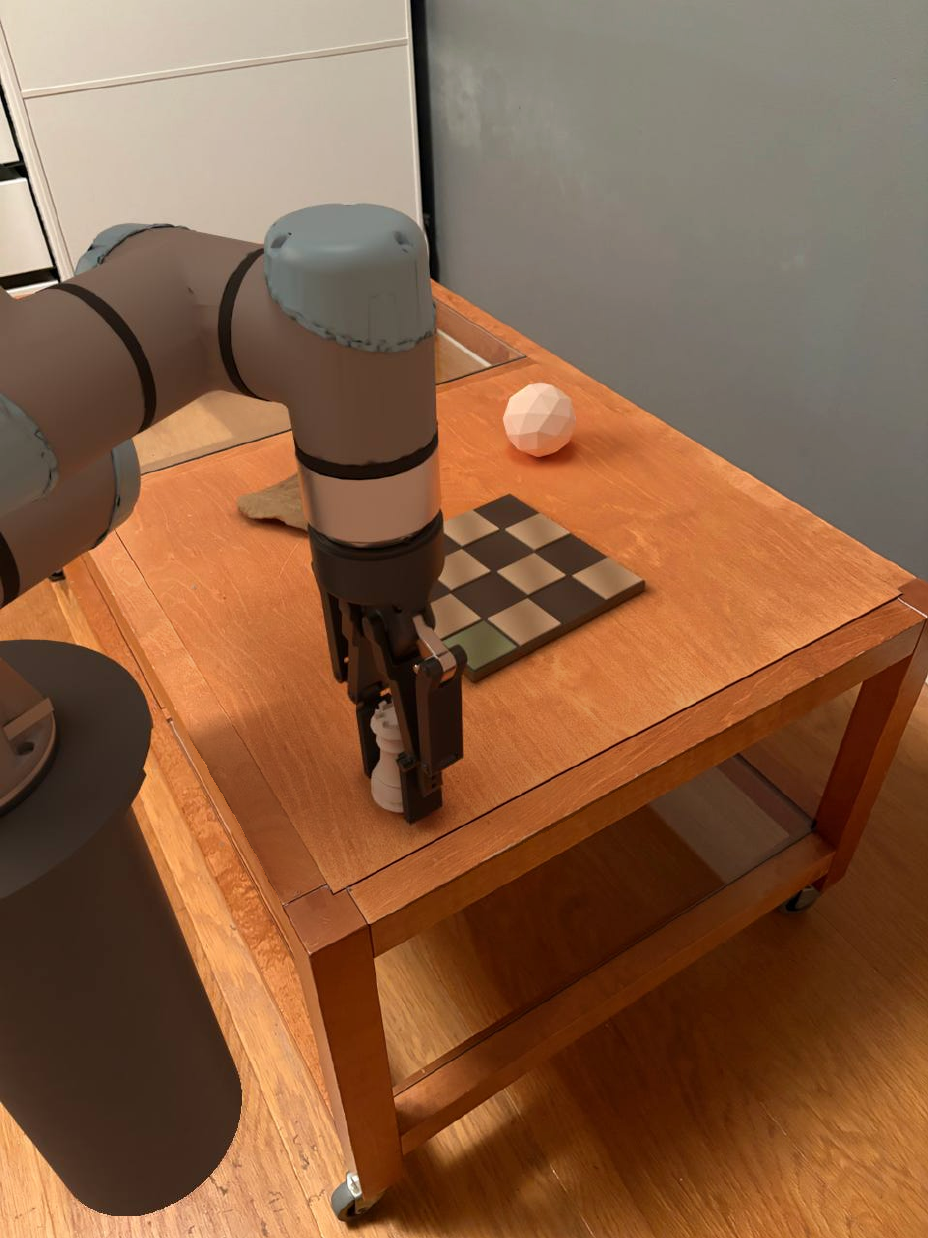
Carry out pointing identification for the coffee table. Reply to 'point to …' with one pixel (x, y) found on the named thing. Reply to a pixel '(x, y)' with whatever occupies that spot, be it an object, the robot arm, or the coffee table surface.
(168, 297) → the robot arm
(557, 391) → the geometric ball
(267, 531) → the coffee table surface
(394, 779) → the rook chess piece
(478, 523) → the game board
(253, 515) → the pottery shard
